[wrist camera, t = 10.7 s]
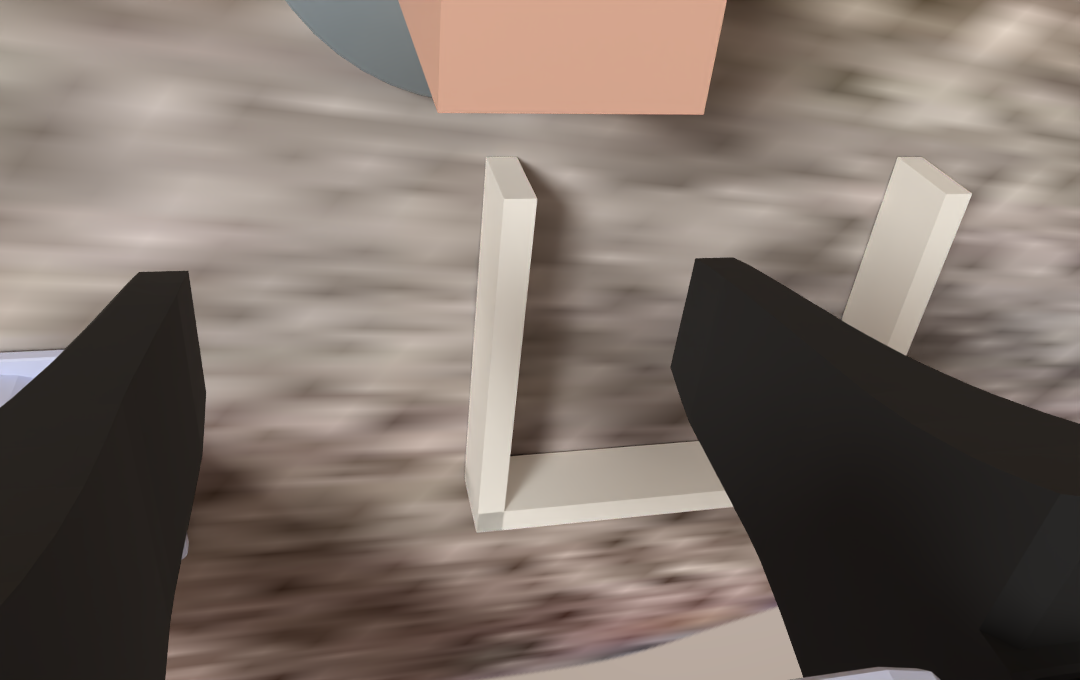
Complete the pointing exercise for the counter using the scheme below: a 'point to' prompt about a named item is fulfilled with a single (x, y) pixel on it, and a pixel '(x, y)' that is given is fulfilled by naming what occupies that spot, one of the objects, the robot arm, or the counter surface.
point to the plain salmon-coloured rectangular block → (566, 54)
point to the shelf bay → (675, 468)
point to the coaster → (367, 38)
